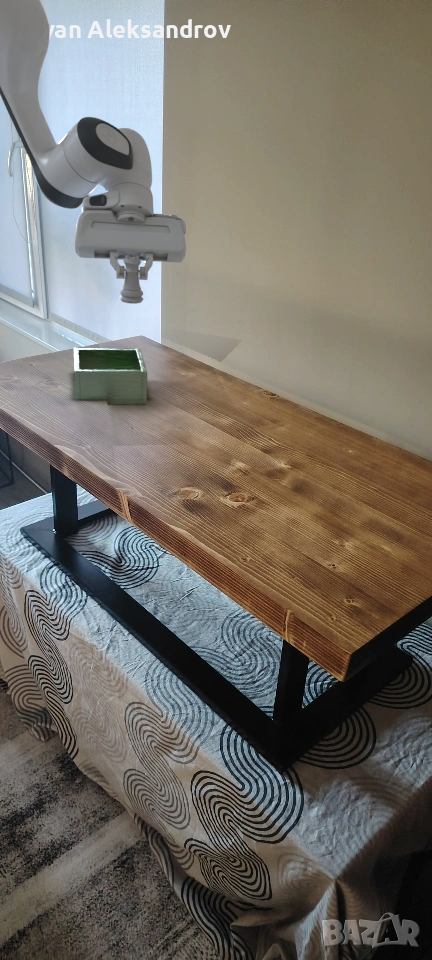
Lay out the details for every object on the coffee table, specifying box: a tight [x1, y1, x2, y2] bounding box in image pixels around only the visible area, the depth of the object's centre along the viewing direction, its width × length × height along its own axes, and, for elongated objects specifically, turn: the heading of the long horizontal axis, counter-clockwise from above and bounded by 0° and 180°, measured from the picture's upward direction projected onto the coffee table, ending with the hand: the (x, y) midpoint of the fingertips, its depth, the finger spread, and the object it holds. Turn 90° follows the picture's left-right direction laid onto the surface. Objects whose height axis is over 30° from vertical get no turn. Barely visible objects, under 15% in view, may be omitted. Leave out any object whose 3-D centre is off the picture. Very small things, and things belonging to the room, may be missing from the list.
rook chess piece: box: [119, 255, 144, 305], centre depth 114 cm, size 4×4×8 cm
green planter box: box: [73, 347, 148, 406], centre depth 107 cm, size 12×12×6 cm
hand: (131, 277), depth 114 cm, fingers closed on rook chess piece, 3 cm apart
